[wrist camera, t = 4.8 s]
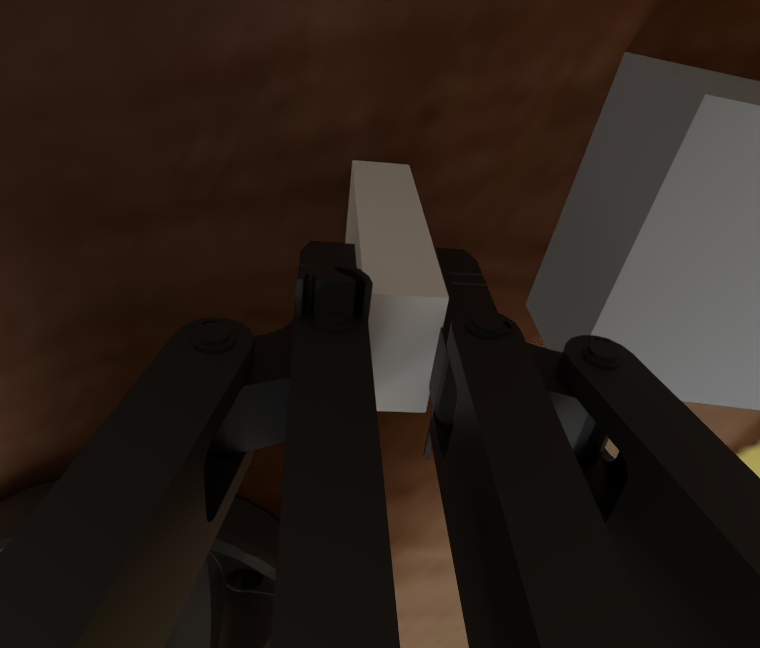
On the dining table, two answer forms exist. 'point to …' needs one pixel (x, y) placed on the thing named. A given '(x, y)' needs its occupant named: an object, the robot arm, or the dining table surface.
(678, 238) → the slate block
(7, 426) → the dining table surface
